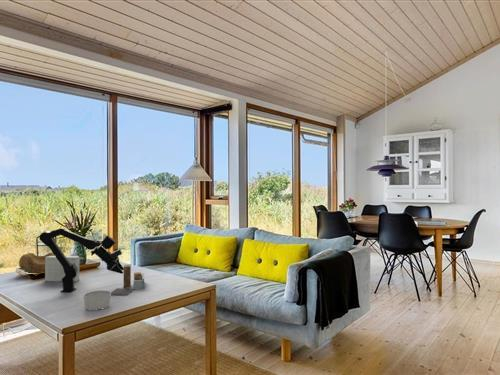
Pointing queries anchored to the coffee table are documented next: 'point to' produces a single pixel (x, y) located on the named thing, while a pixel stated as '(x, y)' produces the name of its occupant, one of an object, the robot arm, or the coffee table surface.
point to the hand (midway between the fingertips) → (123, 271)
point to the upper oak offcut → (137, 276)
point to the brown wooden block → (127, 276)
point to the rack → (139, 282)
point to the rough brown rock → (33, 262)
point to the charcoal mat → (121, 291)
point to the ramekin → (97, 299)
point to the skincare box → (58, 268)
